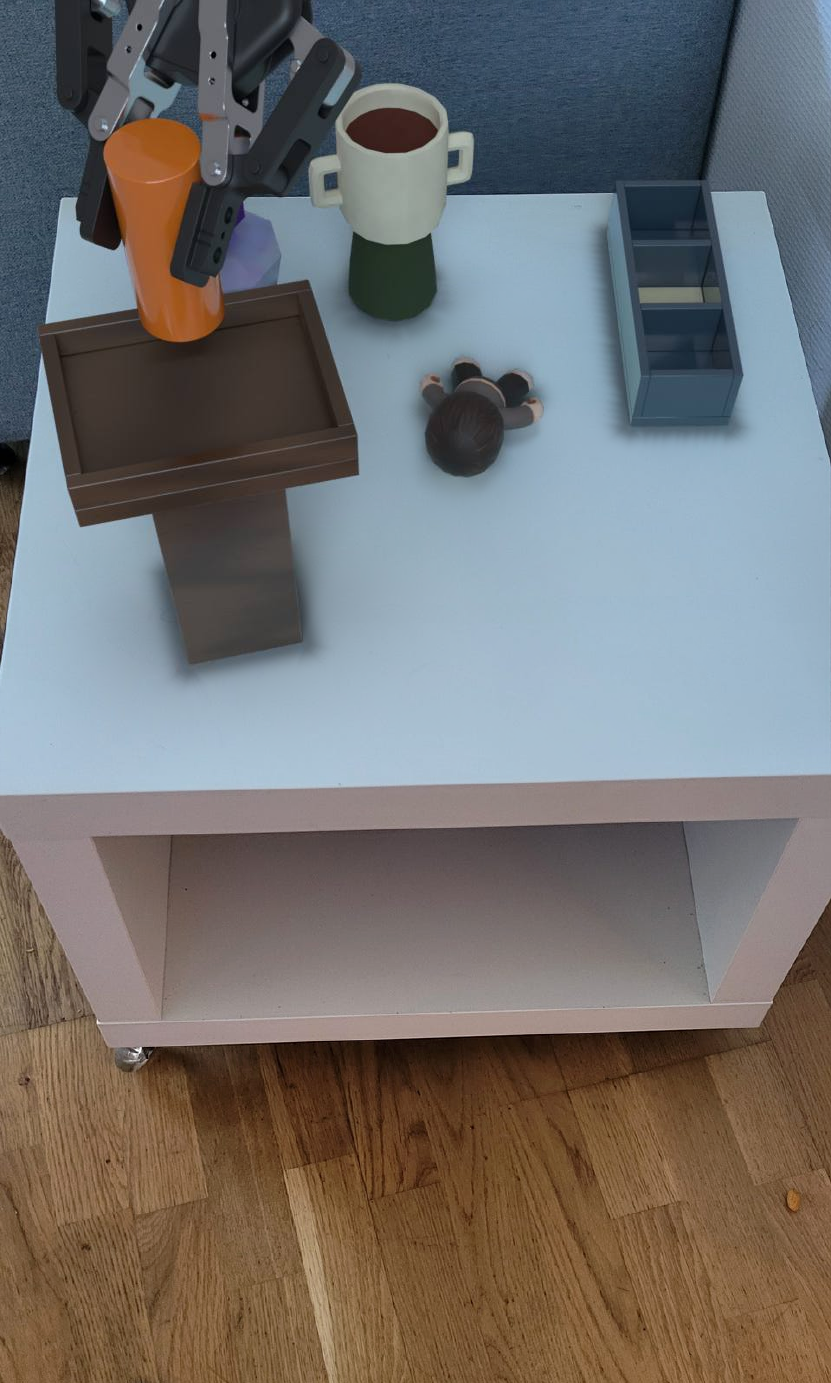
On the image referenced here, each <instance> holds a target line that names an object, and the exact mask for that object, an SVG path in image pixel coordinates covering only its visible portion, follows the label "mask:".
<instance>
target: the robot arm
mask: <svg viewBox="0 0 831 1383" xmlns="http://www.w3.org/2000/svg"><path fill="white" fill-rule="evenodd" d="M124 1H125V6H126V9H127V14H128V19H127V20H126V23H125V25H124V27H123V29H122V30H121V33H120V35H119V37H118V39H117V41H116V44H115V46H114V45H113V44H114V42H113V41H114V40H113V36H114V35H113V17H114V16H118V15H120V13H121V10H122V5H121V4H120V0H54V25H55V26H54V31H55V32H54V34H55V71H56V72H55V73H56V75H55V76H56V77H55V78H56V98H57V102H58V104H59V105H60V107H62V108H63V109H65V110H66V111H67V112H69V113H71V114H72V116H74V117H75V118H76V119H77V120H78V121H79V122H80V123H81V124H82V125H83V126H84V127H85V129H86V130H87V132H88V135H89V136H88V137H89V149H88V152H87V157H86V162H85V165H84V169H83V173H82V177H81V178H82V179H81V183H80V186H79V193H78V194H77V198H76V203H75V220H76V221H77V222H80V224H79V228H78V229H79V230H78V231H79V236H80V238H81V239H82V240H84V241H86V242H89V243H91V244H93V245H95V246H99V247H101V248H105V249H107V250H110V251H116V250H117V249H118V248H120V245H121V242H122V238H121V234H120V229H119V225H118V220H117V216H116V211H115V207H114V202H113V198H112V193H111V189H110V184H109V180H108V175H107V171H106V166H105V162H104V156H103V152H104V147H105V144H106V142H107V140H108V138H109V137H110V136H111V135H112V134H113V133H114V132H115V131H116V130H118V129H119V128H121V127H122V126H124V125H126V124H129V123H131V122H134V121H137V120H142V119H149V118H159V115H161V113H162V112H163V111H166V110H168V109H169V108H170V107H171V106H172V105H173V103H174V101H175V100H176V97H177V95H178V93H179V91H180V89H181V88H182V86H184V87H197V113H198V115H199V117H200V119H201V123H202V124H201V125H202V129H201V130H202V131H201V148H202V149H201V176H202V178H203V180H202V183H201V185H200V184H197V183H195V182H193V183H192V186H191V189H190V193H189V196H188V200H187V204H186V208H185V211H184V215H183V219H182V223H181V226H180V230H179V234H178V237H177V241H176V245H175V249H174V252H173V256H172V260H171V264H170V274H171V276H172V277H174V278H176V279H179V280H181V281H183V282H186V283H188V284H191V285H194V286H197V287H200V288H203V287H204V286H206V284H207V283H208V281H209V278H210V276H212V277H215V278H216V276H217V275H218V273H219V272H220V271H221V269H222V268H223V265H224V262H225V258H226V255H227V254H226V252H227V251H228V247H229V242H230V240H231V237H232V233H233V230H234V226H235V223H236V219H237V216H238V212H239V209H240V206H241V204H242V203H243V204H244V201H246V200H247V199H248V198H250V197H252V196H264V195H265V196H266V195H272V196H274V197H277V198H281V199H282V198H284V197H288V196H289V195H290V194H291V193H292V191H293V190H294V188H295V186H296V185H297V183H298V182H299V180H300V179H301V177H302V175H303V173H304V172H305V170H306V169H307V167H309V165H310V162H311V161H312V160H313V159H314V156H315V154H316V153H317V151H318V150H319V148H320V147H321V145H322V144H323V142H324V140H325V139H326V137H327V135H328V134H329V132H330V131H331V129H332V128H333V126H335V121H336V120H337V118H338V117H339V115H340V113H341V112H342V110H343V109H344V107H345V106H346V104H347V102H348V101H349V99H350V98H351V96H352V94H353V93H354V92H356V91H357V89H358V87H359V85H360V83H361V81H362V76H363V71H362V70H363V69H362V67H361V64H360V63H359V62H358V61H357V60H356V59H355V58H354V57H353V55H352V54H351V53H349V51H347V50H346V49H345V48H344V47H342V45H340V44H338V43H337V42H335V40H333V39H331V38H330V37H326V36H325V35H324V34H323V33H321V32H320V30H318V28H316V27H315V26H314V25H313V23H314V11H313V2H312V0H124ZM113 47H114V48H113ZM292 55H293V58H292V59H291V61H290V64H289V70H288V74H289V80H290V82H289V84H288V86H287V88H286V89H285V91H284V93H283V94H282V96H281V97H280V99H279V101H278V102H277V103H276V105H275V107H274V109H273V110H272V111H271V114H270V115H269V117H268V118H267V120H266V122H265V124H264V113H265V98H266V97H265V96H266V82H267V81H266V79H267V78H268V77H269V76H271V75H272V74H273V73H274V72H275V71H276V70H277V69H278V68H279V67H280V66H281V65H283V63H284V62H286V61H287V60H288V59H289V58H290V57H291V56H292ZM145 67H148V68H149V70H147V71H145Z"/></svg>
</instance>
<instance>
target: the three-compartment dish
mask: <svg viewBox="0 0 831 1383" xmlns="http://www.w3.org/2000/svg"><path fill="white" fill-rule="evenodd" d="M606 241H607V242H606V243H607V249H608V257H609V265H610V274H611V282H612V290H613V298H614V304H615V305H614V306H615V312H616V313H615V314H616V322H617V330H618V338H619V344H620V351H621V352H620V353H621V362H622V368H623V369H622V370H623V377H624V386H625V393H626V401H627V402H626V403H627V409H628V416H629V426H630V427H687V426H689V427H692V426H693V427H694V426H699V427H700V426H701V427H702V426H703V427H704V426H705V427H706V426H708V427H709V426H729V424H730V421H731V416H732V414H733V411H734V408H735V404H736V401H737V398H738V394H739V391H740V388H741V384H742V381H743V379H744V370H743V365H742V359H741V354H740V348H739V343H738V337H737V330H736V326H735V321H734V320H735V319H734V314H733V308H732V303H731V296H730V292H729V286H728V281H727V276H726V269H725V263H724V258H723V253H722V248H721V241H720V234H719V230H718V224H717V218H716V214H715V208H714V202H713V196H712V191H711V184H710V180H709V179H701V180H700V179H684V180H683V179H682V180H681V179H680V180H679V179H678V180H677V179H676V180H675V179H672V180H671V179H669V180H668V179H667V180H666V179H665V180H664V179H662V180H659V179H657V180H655V179H654V180H653V179H652V180H649V179H647V180H614V187H613V193H612V198H611V203H610V210H609V216H608V222H607V229H606Z"/></svg>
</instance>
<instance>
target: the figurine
mask: <svg viewBox="0 0 831 1383" xmlns="http://www.w3.org/2000/svg"><path fill="white" fill-rule="evenodd" d="M450 373H451V381H452V385H453V388H454V390H453V393H448V392H446V391H445V387H444V384H443V382H442V381H441V379H440V377H439V376H438V375H437V374H435V373H429V374H426V375H424V377H423V378H422V379H421V381H420V383H419V393H420V395H421V397H422V398H423V400H424V401H425V403H426V404H427V406H429V407H430V408H431V409H432V411H431V413H430V415H429V416H428V420H427V423H426V426H425V429H424V433H423V434H424V440H425V441H424V442H425V448H426V452H427V454H428V455H429V457H430V459H431V461H432V462H433V464H434V465H435V466H437V467H438V468H439V469H440V470H441V471H443V472H444V473H445V474H448V475H450V476H453V477H459V478H471V477H474V476H477V475H480V474H482V473H484V472H486V471H487V470H488V469H489V468H490V467H491V466H492V465H493V464H494V463H495V461H497V458H498V456H499V454H500V452H501V451H500V450H501V448H502V445H503V443H504V438H505V436H504V435H505V431H511V430H517V429H522V428H526V427H529V426H532V425H534V424H537V423H539V421H540V420H541V419H542V417H543V415H544V405H543V402H542V400H541V399H539V397H538V398H537V397H531V398H529V400H528V401H523V400H524V399H525V398H526V397H527V396H528V394H530V392H531V390H532V389H533V388H534V387H535V382H534V377H533V375H532V374H530V373H529V372H528V371H527V370H525V369H520V368H513V369H510V370H508V371H506V372H505V373H504V374H503V375H502V376H500V377H499V379H497V380H496V381H495V380H494V379H491V378H489V377H487V376H484V374H483V371H482V367H481V365H480V363H479V362H478V361H477V360H476V359H474V357H473V358H472V357H469V356H460V357H457V358H455V359H454V361H453V363H452V366H451V370H450ZM522 401H523V402H522ZM521 402H522V403H521ZM520 403H521V405H519V406H518V404H520Z"/></svg>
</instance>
